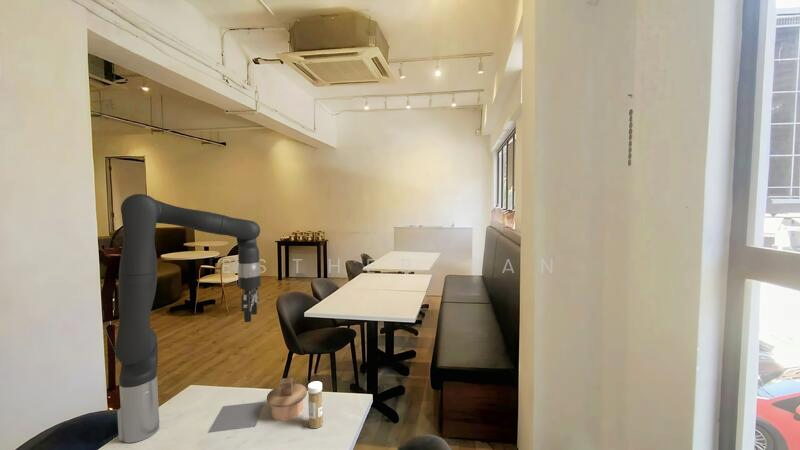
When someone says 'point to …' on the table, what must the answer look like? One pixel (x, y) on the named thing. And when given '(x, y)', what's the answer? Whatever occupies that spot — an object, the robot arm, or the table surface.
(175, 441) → the table surface
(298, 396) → the walnut lid
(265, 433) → the table surface
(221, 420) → the charcoal mat
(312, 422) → the sprinkles bottle
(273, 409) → the terracotta bowl
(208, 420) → the table surface
